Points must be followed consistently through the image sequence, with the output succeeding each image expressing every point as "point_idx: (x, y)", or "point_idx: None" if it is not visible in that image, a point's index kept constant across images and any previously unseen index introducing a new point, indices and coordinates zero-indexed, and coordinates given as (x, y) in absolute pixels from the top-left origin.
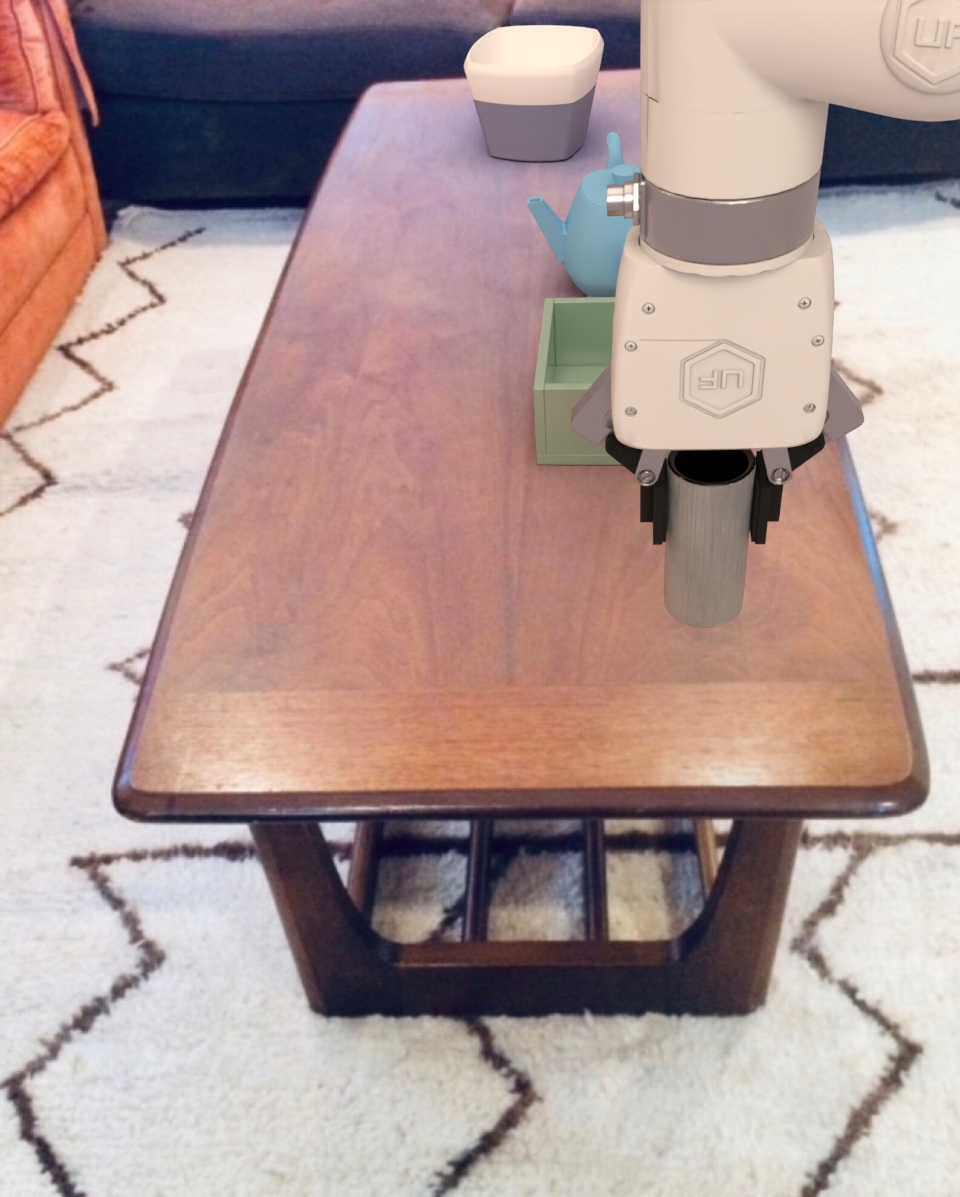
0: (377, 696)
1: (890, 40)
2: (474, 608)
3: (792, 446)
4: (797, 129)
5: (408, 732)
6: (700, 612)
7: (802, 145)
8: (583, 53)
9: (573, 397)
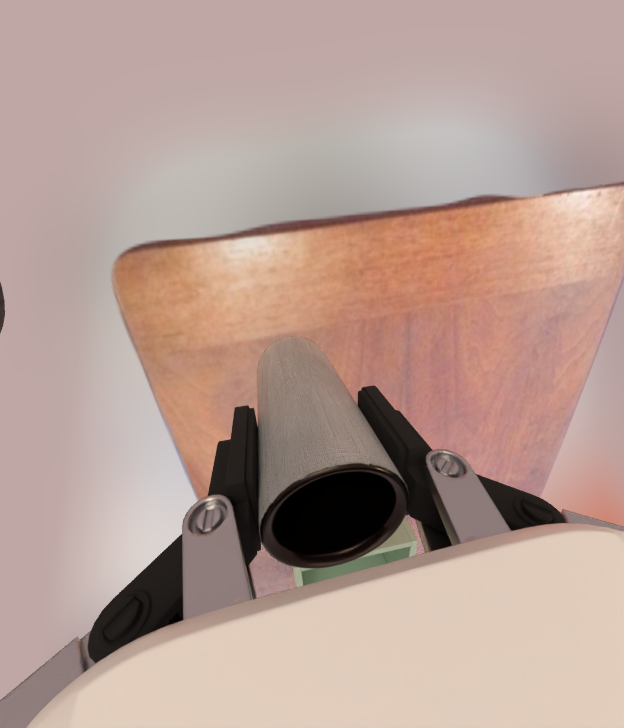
0: (492, 290)
1: None
2: (428, 374)
3: (135, 647)
4: None
5: (475, 260)
6: (297, 342)
7: None
8: None
9: (389, 539)
